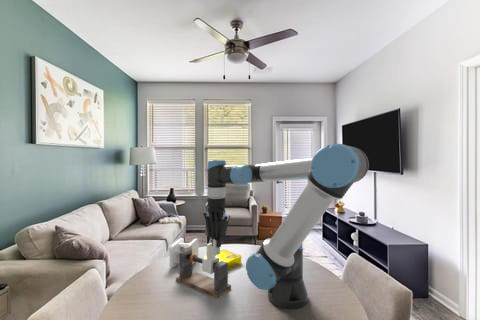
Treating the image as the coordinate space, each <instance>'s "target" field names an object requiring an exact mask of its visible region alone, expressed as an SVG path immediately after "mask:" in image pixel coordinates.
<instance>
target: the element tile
mask: <svg viewBox="0 0 480 320" xmlns="http://www.w3.org/2000/svg"><path fill="white" fill-rule="evenodd" d="M204 257H207V254H206V255H204V256H203V258H204ZM217 257H220V262H221V261H225V262H228V271H229V270H232V269H233V268H236V267H238V266H240V265H241V264H242V255H241V254H238V253H235V252H233V251H229V250H228V249H220V254H219V255H217Z"/></svg>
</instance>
